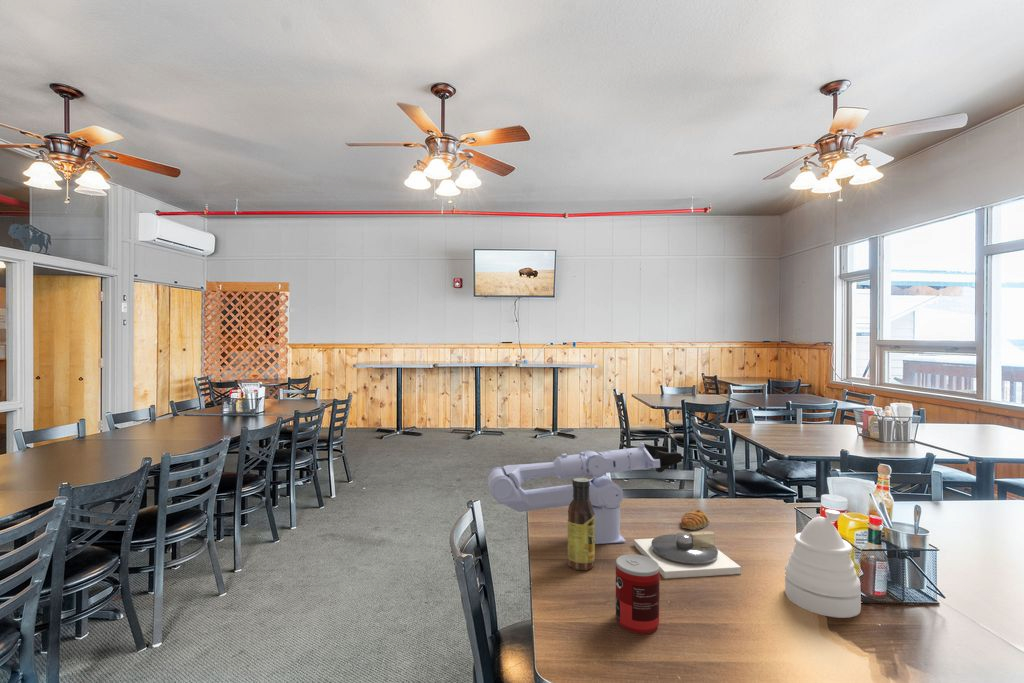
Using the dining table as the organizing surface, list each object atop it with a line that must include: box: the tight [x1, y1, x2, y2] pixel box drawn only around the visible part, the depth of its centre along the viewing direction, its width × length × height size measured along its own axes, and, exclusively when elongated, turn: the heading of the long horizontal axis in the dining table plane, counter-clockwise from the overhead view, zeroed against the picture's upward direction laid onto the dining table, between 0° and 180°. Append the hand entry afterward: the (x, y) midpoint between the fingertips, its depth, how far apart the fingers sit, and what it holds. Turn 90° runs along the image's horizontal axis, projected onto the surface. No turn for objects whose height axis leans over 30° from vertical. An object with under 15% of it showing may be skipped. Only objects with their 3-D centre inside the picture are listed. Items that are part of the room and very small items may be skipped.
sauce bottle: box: [567, 477, 596, 571], centre depth 114 cm, size 7×6×20 cm
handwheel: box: [651, 530, 719, 565], centre depth 118 cm, size 15×15×4 cm
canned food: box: [615, 553, 661, 635], centre depth 91 cm, size 8×8×11 cm
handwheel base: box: [633, 537, 742, 579], centre depth 118 cm, size 18×18×2 cm
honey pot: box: [784, 508, 862, 619], centre depth 99 cm, size 13×13×18 cm
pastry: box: [680, 509, 711, 531], centre depth 139 cm, size 9×7×4 cm
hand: (674, 454), depth 133 cm, fingers open, 7 cm apart
